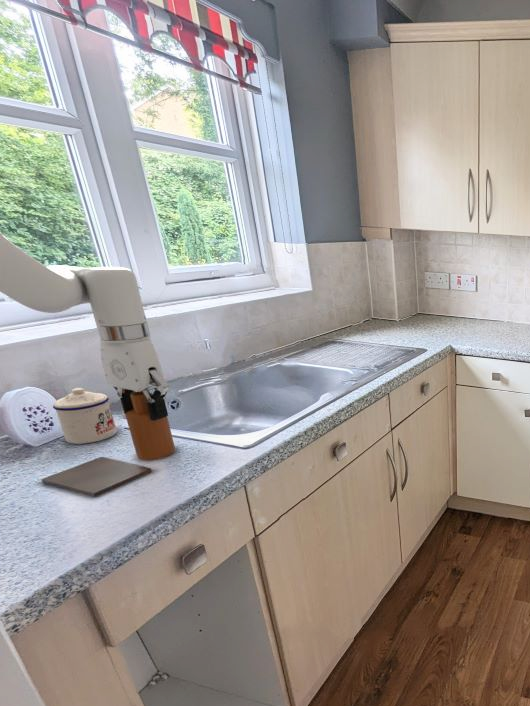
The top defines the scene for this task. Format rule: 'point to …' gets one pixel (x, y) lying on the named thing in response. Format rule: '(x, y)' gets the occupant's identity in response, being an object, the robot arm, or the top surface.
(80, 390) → the teacup with lid
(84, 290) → the robot arm
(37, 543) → the top surface
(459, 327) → the top surface
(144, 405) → the bottle
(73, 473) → the board
